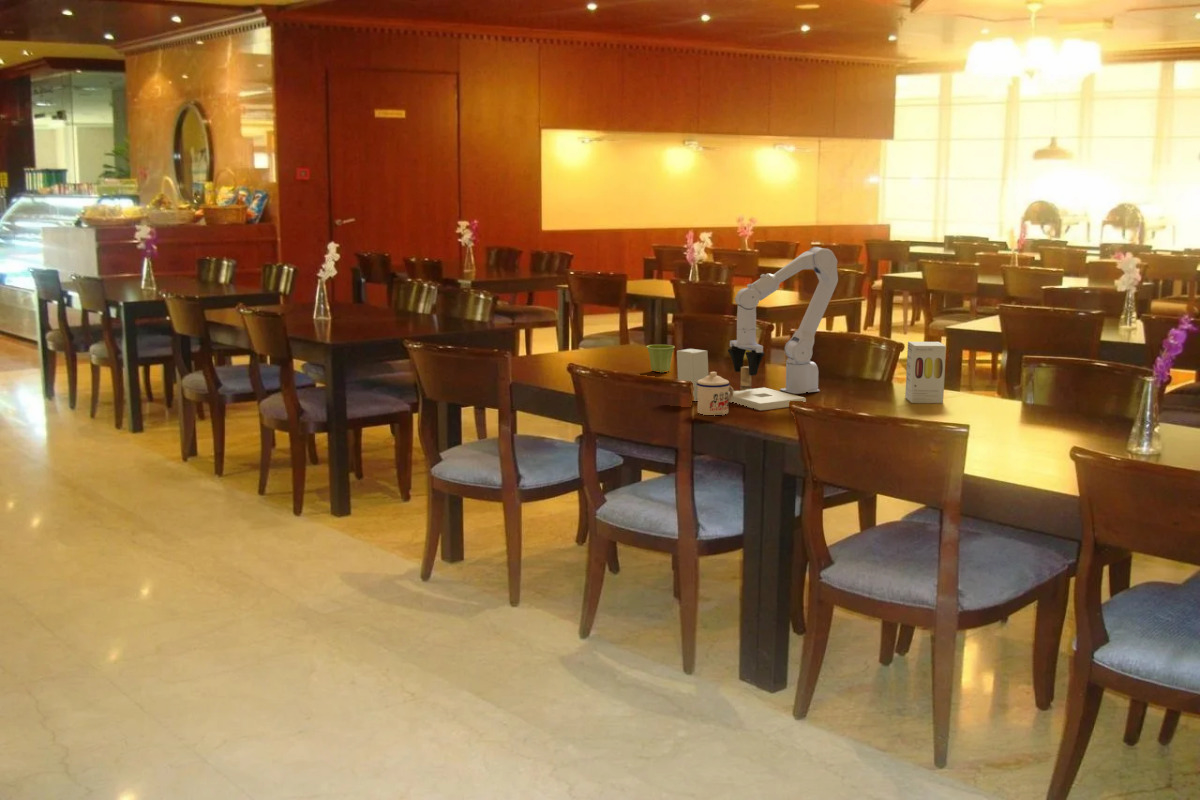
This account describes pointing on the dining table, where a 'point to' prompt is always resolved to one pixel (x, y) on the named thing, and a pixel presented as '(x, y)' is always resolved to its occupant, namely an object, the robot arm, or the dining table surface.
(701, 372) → the skincare box
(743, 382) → the peg
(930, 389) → the supplement box
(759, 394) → the board
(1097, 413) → the dining table surface
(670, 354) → the plant pot
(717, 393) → the teacup with lid
